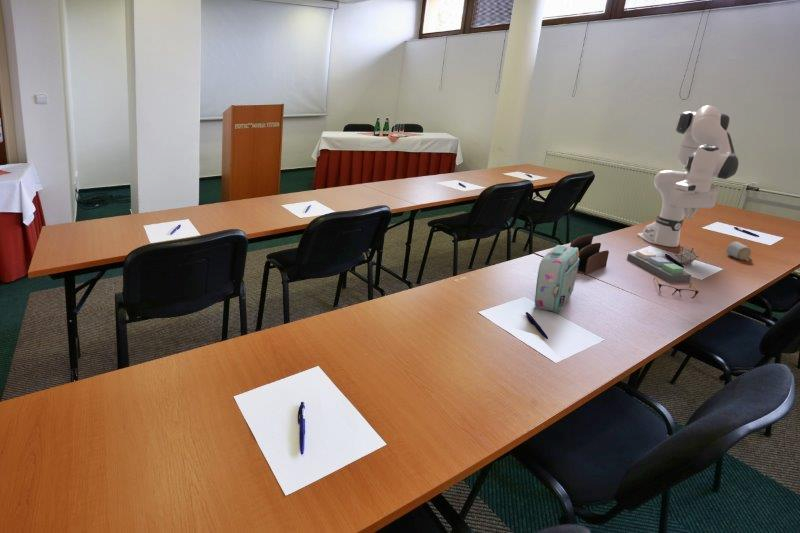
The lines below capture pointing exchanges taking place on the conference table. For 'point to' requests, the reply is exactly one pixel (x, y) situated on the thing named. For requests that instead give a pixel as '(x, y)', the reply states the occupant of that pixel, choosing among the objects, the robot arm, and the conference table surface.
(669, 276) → the button panel
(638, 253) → the cream button
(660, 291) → the eyeglasses
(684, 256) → the game die
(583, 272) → the letter holder
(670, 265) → the green button
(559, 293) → the lunch box
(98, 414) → the conference table surface
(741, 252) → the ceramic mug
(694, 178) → the robot arm
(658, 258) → the slate blue button
